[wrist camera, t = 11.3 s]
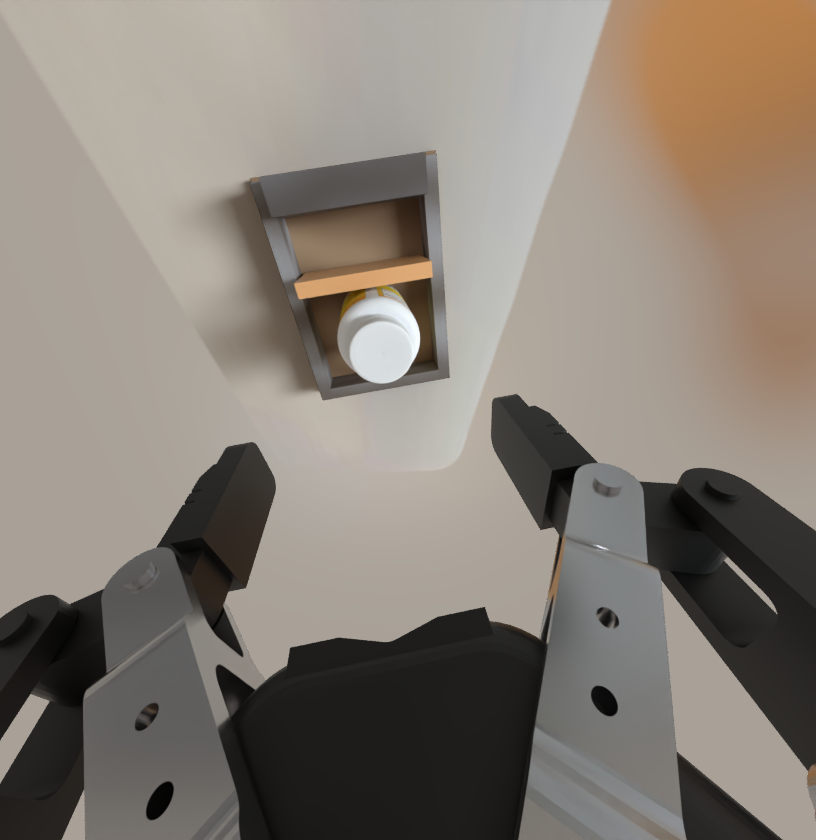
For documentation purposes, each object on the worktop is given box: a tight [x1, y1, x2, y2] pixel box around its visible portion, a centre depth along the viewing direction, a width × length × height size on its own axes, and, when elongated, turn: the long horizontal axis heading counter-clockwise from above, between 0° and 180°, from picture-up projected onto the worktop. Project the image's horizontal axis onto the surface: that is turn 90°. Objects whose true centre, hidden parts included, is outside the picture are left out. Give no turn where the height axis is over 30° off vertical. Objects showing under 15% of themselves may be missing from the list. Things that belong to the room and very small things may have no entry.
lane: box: [249, 150, 450, 400], centre depth 24 cm, size 17×13×5 cm
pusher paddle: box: [294, 254, 433, 299], centre depth 22 cm, size 1×9×5 cm, turn 98°
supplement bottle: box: [337, 284, 420, 384], centre depth 22 cm, size 6×6×10 cm
